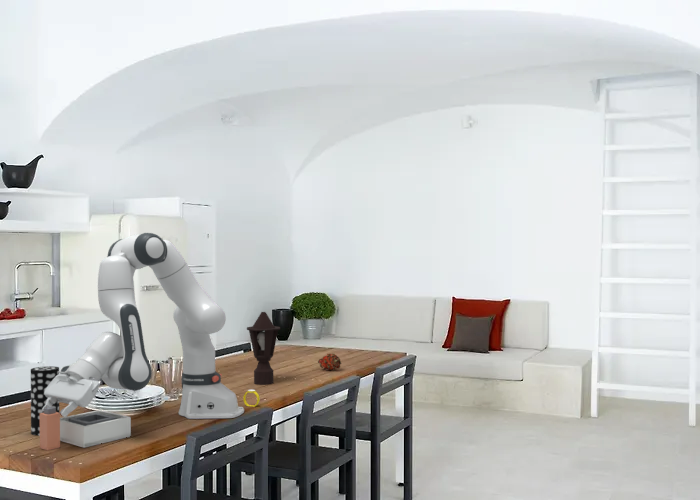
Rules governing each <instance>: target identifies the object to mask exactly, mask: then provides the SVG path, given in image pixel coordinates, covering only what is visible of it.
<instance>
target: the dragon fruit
mask: <svg viewBox="0 0 700 500" xmlns="http://www.w3.org/2000/svg"><path fill="white" fill-rule="evenodd" d="M317 363H318V364H319V367H320V368H321V369H323V370H325V371H326V372H328V371H331V372H333V371H336V369H340V368H341V365H342V362H341V358H340V357H339V356H338V355H337V354H335V353H333V352H332V353H326V355H323V356H322V357H321V358H319V359H318V361H317Z"/></svg>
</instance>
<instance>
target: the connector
mask: <svg viewBox="0 0 700 500" xmlns="http://www.w3.org/2000/svg"><path fill="white" fill-rule="evenodd" d="M59 413H60V412H59ZM59 413H58V412H56V408H54V407H48V408H44V413H40V435H39V449H41V450H42V449H43V450H44V451H51V450H55V449H59V448H61V441H60V418H61V415H60V414H59Z"/></svg>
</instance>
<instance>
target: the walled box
mask: <svg viewBox="0 0 700 500" xmlns="http://www.w3.org/2000/svg"><path fill="white" fill-rule="evenodd" d="M131 421H132V419H131V416H128V415H123V414H119V413H116V412H111V411H106V410H103V409H98V410H92V411H87V412H84V413H78V414H72V415H67V416H66V417H62V416H61V417H60V442H64V443H67V444H70V445H74V446H76V447H77V446H78V447H80V448H83V449H85V448H89V447H93V446H98V445H102V444H105V443H109V442H113V441H118V440H122V439H126V437H127V438H131V437H130V436H132V433H131V432H132V431H131V430H132V429H131V427H132V426H131ZM101 443H102V444H101Z"/></svg>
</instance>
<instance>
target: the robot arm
mask: <svg viewBox="0 0 700 500" xmlns="http://www.w3.org/2000/svg"><path fill="white" fill-rule="evenodd" d="M146 267H149V268H151V270H152V272H153V274H154V275H155V278H156V279H157V280H158V283H159V284H160V285H161V288H162V289H163V291H164V292H165V294H166V296H167V298H168V299H169V300H171V301H172V302H173V303H174V304H175V305H176V306H175V308H174V310H173V315H172V316H173V321H174V322H175V325H176V326H177V329H178V334H179V338H180V343H181V349H182V373H181V388H182V389H181V390H182V392H181V393H182V394H181V400H180V406H179V410H178V413H177V414H178V415H179V416H182V417H185V418H186V419H188V420H189V419H191V420H192V419H197V420H198V419H199V420H200V419H203V420H204V419H232V418H237V417H240V416H241V415H243V414H244V412H245V408H244V407H243V406H239V404H238V398H237V395H236V393H235V392H234V391H233V390H231V389H230V388H228V387H227V386H226V385H224V383H222V380H221V379H222V377H223V376H222V373H219V372H217V371H216V349H215V347H214V345H213V342H212V341H211V340H212V339H211V336H210V334H211V335H212V334H215V333H218V332H220V331H221V330H222V329H223V328H224V326H225V324H226V319H227V318H226V312H225V311H224V309H223V308H222V307H221V306H219V305H218V304H217V303H216V302H215V301H214V299H213V298H212V297H211V296H210V295H209V293H208V292H207V291H206V289H204V288H203V287H202V285H201V284H200V283H199V281H198V280H197V278H196V277H195V274H194V273H193V272H192V270H191V269H190V267H189V265H188V263H187V261H186V259H185V258H184V256H183V255H182V254H181V252H180V251H179V250H178V248H177V247H176V246H175V245H174V244H173V242H171V241H170V240H168V239H162V237H161V236H159V235H158V234H155V233H152V232H143V233H137V234H132V235H129V236H127V237H124V238H121V239H118V240H116V241H114V242H113V243H112V244H111V245H110V247H109V249H108V253H107V256H106V257H104V258H103V259H102V260H100V263H99V268H98V274H97V276H98V277H97V298H98V305H99V308H100V312H101V313H102V314H103V315H104V316H105V317H106V318H108V319H110V320H111V321H113V323H115V324H116V326H117V327H118V328H119V332H120V334H118V333H115V332H113V331H104V332H102V333H100V334H99V335H98V336H97V337H95V339H94V340H93V341H92V342H91V343H90V345H89V346H88V347H87V348H86V349H85V351H84V354H83V355H81V356H80V357H79V358H78V359H77V360H76V362H73V363H71V364H69V365H65V366H62V367H60V368H59V374H58V375H57V376H56V377H55V378H54V379H53V380H52V381H51V382H50V384H49V385H48V386H47V388H46V389H45V391H44V395H45V396H46V397H47V398H48V399H47V401H46V404H45V406H44V407H43V408H42V411H44V408H48V407H52V405H53V404H55V402H59V403H63V404H67V406H65V407H64V408H62V409H61V410H60V411H59V414H60V417H61V418H62V417H67V416H69V414H70V413H72V412H73V411H74V410H76V409H77V408H78V407H81V408H86V407H88V406H89V405H90V404H91V403H92V401H93V400H94V398H95V397H96V395H97V393H98V392H99V387H100V385H101V384H102V383H101V382H103V383H104V384H105V385H106V386H107V387H109V388H111V389H117V390H129V391H140V390H142V389H144V388H145V387H147V385H148V384H149V382H150V380H151V378H152V366H151V363H150V361H149V359H148V357H147V353H146V349H145V341H144V335H143V334H144V333H143V329H142V322H141V317H140V313H139V310H138V307H137V304H136V302H137V301H136V297H135V295H136V294H135V281H134V275H135V272H136V270H140V269H143V268H146ZM101 380H102V381H101Z"/></svg>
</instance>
